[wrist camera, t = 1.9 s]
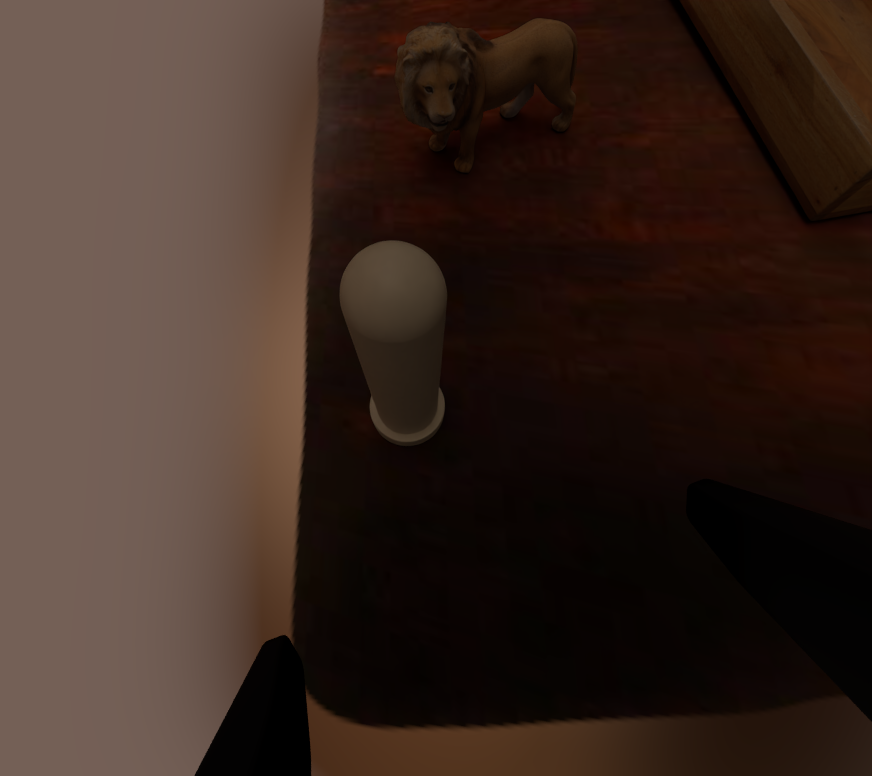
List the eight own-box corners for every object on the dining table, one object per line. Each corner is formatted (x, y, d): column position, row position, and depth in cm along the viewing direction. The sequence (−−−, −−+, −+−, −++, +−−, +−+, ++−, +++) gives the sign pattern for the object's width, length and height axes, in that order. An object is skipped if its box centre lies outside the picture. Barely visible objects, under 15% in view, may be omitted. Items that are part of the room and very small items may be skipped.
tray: (999, 192, 31) (1120, 117, 25) (804, 227, 29) (888, 155, 24) (789, -66, 41) (844, -158, 35) (636, -49, 39) (669, -143, 34)
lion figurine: (430, 214, 29) (432, 77, 21) (383, 164, 30) (367, 15, 22) (590, 118, 32) (649, -34, 24) (541, 77, 34) (581, -81, 25)
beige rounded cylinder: (438, 451, 24) (453, 342, 11) (364, 439, 24) (297, 318, 11) (449, 382, 25) (474, 216, 12) (379, 371, 25) (334, 195, 13)
